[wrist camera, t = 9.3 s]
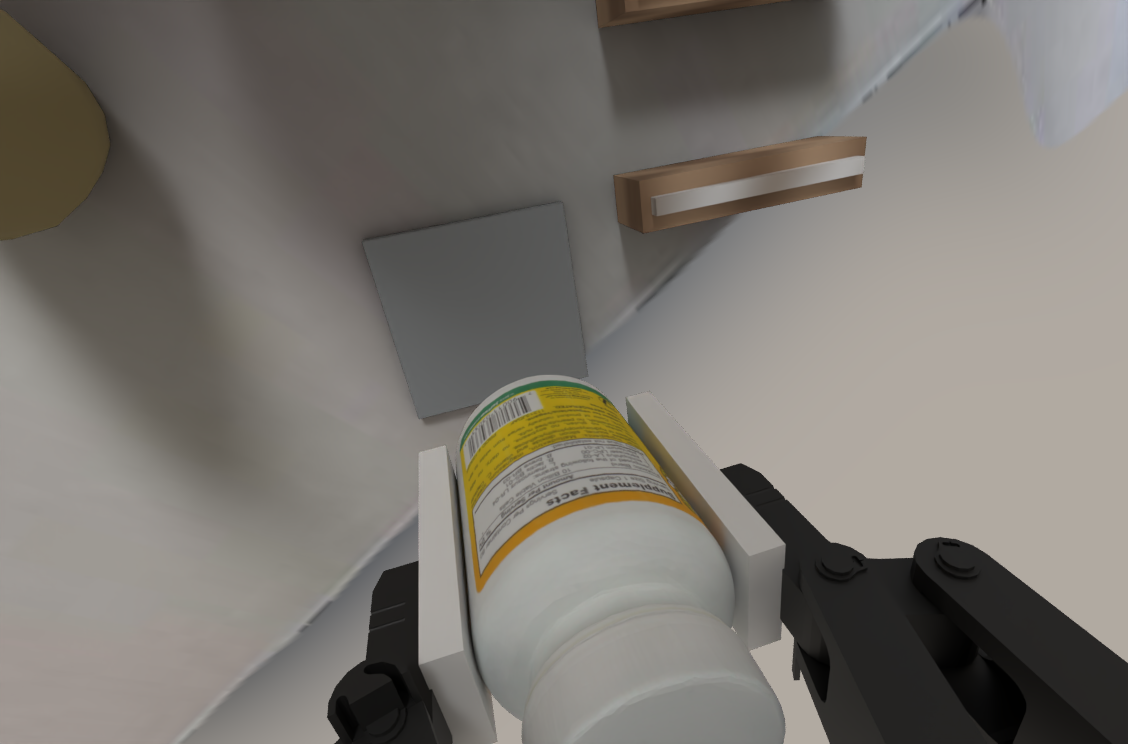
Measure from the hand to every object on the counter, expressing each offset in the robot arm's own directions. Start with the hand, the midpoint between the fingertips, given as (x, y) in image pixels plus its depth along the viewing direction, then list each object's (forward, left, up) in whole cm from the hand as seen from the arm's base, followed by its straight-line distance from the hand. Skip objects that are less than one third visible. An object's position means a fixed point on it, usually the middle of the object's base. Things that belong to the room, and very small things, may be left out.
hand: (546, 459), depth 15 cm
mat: (0, 0, -15) cm, 15 cm away
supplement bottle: (0, 0, -1) cm, 1 cm away
